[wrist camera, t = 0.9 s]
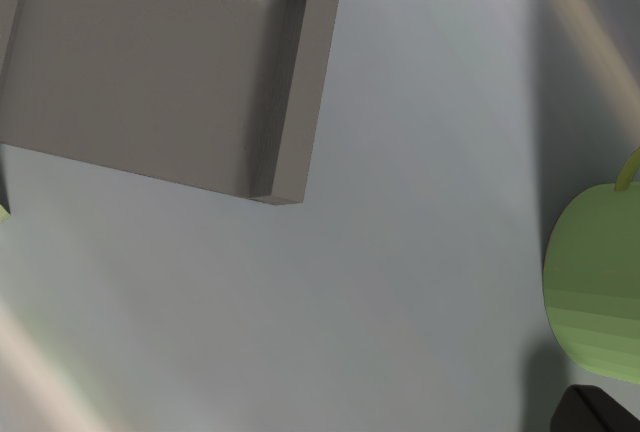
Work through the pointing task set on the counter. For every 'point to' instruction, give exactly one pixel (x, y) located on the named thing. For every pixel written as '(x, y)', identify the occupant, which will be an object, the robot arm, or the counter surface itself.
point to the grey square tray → (170, 88)
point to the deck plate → (3, 213)
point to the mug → (598, 277)
